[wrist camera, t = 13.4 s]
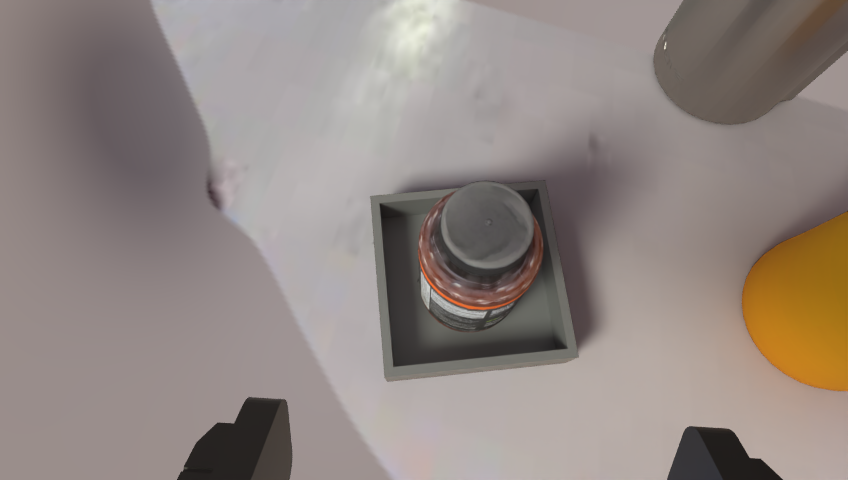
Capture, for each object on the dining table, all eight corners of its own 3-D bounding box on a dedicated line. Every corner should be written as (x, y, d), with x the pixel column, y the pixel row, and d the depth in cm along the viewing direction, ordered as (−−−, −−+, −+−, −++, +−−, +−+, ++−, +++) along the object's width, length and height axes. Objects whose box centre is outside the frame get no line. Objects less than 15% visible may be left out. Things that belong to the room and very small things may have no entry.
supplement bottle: (455, 222, 35) (472, 132, 24) (534, 276, 34) (587, 207, 23) (398, 296, 34) (389, 234, 23) (479, 355, 32) (509, 319, 22)
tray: (535, 199, 36) (545, 180, 33) (564, 362, 33) (578, 357, 30) (374, 214, 36) (370, 196, 33) (387, 381, 32) (384, 377, 30)
